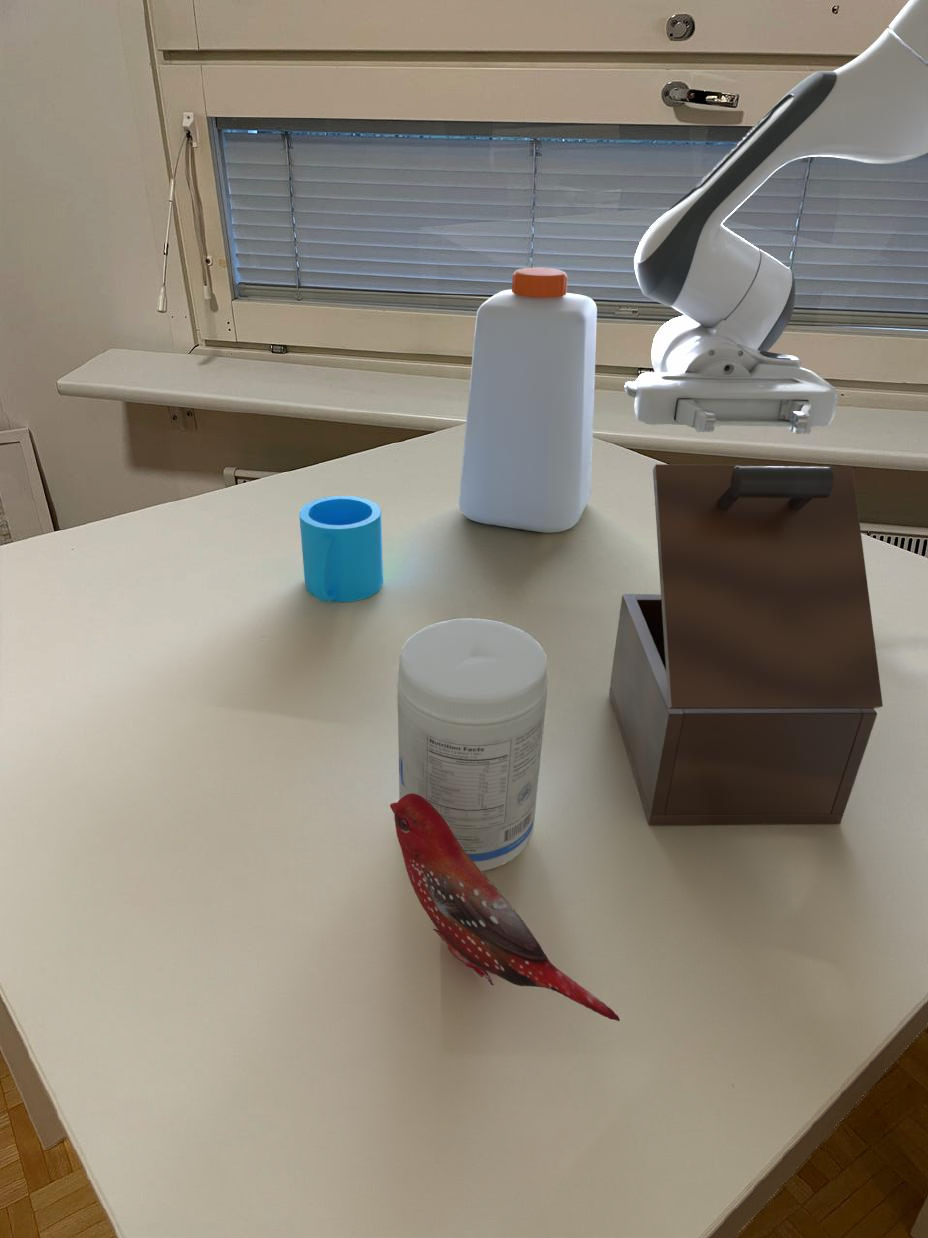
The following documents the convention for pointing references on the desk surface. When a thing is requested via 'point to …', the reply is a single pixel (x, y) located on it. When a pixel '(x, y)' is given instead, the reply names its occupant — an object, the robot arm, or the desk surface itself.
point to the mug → (342, 548)
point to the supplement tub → (474, 731)
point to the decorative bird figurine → (474, 907)
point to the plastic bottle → (531, 406)
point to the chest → (726, 744)
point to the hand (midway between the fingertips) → (756, 425)
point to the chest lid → (764, 588)
